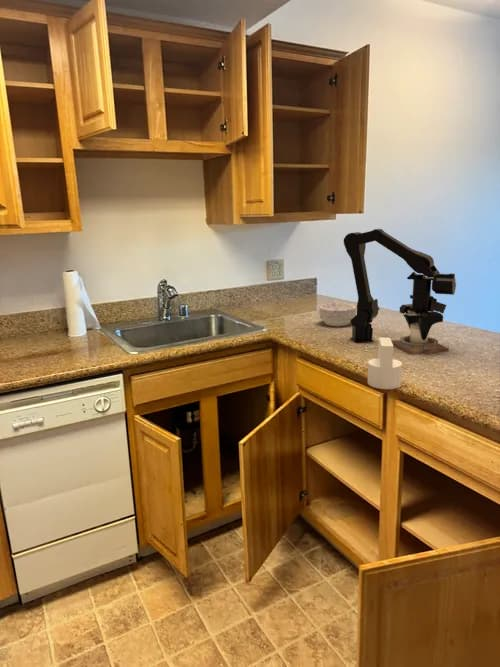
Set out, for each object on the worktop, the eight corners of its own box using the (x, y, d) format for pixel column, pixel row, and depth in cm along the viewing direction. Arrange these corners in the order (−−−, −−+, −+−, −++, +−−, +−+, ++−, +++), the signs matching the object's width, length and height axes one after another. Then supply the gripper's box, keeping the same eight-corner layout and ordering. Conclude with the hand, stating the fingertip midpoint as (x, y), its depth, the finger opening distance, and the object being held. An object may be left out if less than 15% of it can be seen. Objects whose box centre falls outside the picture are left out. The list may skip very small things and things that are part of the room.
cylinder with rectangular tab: (403, 389, 127) (405, 346, 124) (368, 388, 128) (369, 345, 126) (399, 378, 135) (400, 337, 133) (366, 377, 137) (367, 337, 134)
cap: (414, 347, 161) (416, 327, 160) (406, 342, 167) (407, 323, 166) (431, 346, 162) (432, 326, 161) (422, 341, 168) (423, 322, 167)
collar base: (409, 354, 157) (410, 347, 157) (390, 343, 171) (390, 336, 170) (448, 351, 160) (449, 344, 159) (426, 340, 173) (426, 334, 172)
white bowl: (340, 330, 193) (340, 310, 191) (312, 324, 204) (312, 306, 202) (362, 323, 202) (363, 305, 200) (334, 318, 213) (334, 301, 211)
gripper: (459, 295, 153) (456, 342, 157) (428, 287, 171) (426, 329, 174) (427, 297, 151) (425, 345, 155) (399, 289, 169) (397, 331, 173)
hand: (418, 337), depth 164 cm, fingers closed on cap, 6 cm apart
